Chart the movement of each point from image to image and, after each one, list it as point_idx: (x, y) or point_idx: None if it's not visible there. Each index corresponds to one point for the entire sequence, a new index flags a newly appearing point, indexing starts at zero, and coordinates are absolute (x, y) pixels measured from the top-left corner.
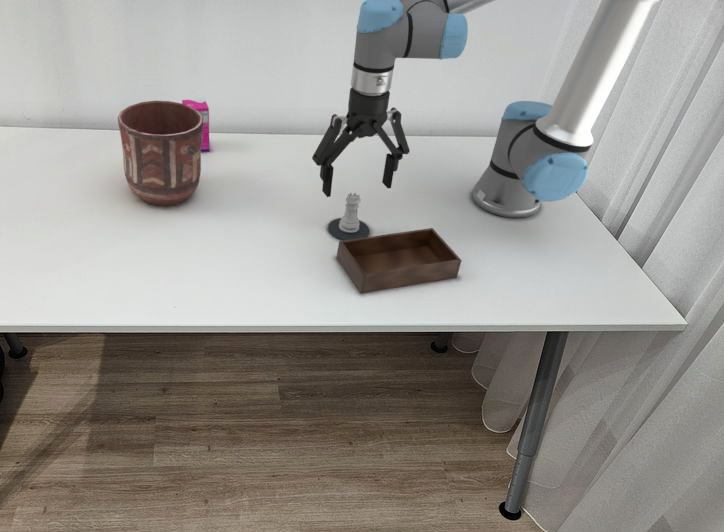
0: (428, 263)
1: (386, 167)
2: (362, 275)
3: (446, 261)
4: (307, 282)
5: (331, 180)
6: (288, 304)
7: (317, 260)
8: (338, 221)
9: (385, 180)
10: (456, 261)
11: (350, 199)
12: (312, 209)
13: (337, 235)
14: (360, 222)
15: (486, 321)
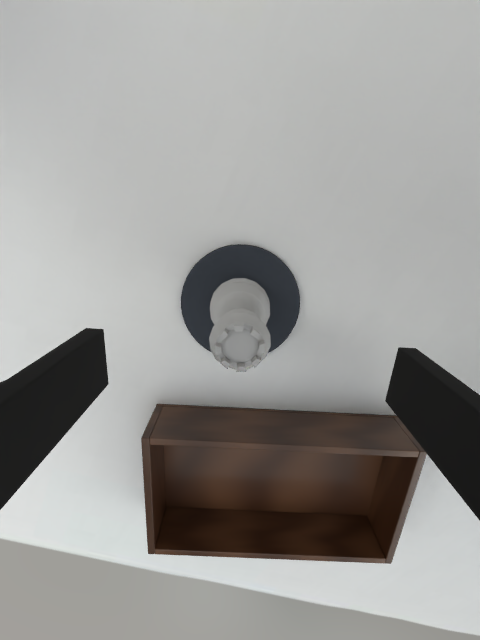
0: (347, 473)
1: (452, 419)
2: (148, 548)
3: (356, 559)
4: (65, 455)
5: (56, 439)
6: (11, 498)
7: (109, 397)
8: (227, 262)
9: (404, 387)
10: (378, 562)
11: (221, 354)
12: (180, 155)
13: (194, 327)
14: (289, 286)
15: (335, 603)
